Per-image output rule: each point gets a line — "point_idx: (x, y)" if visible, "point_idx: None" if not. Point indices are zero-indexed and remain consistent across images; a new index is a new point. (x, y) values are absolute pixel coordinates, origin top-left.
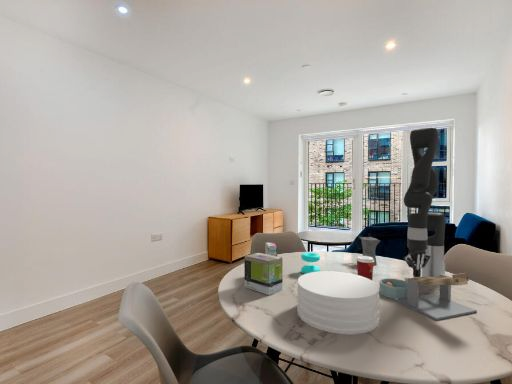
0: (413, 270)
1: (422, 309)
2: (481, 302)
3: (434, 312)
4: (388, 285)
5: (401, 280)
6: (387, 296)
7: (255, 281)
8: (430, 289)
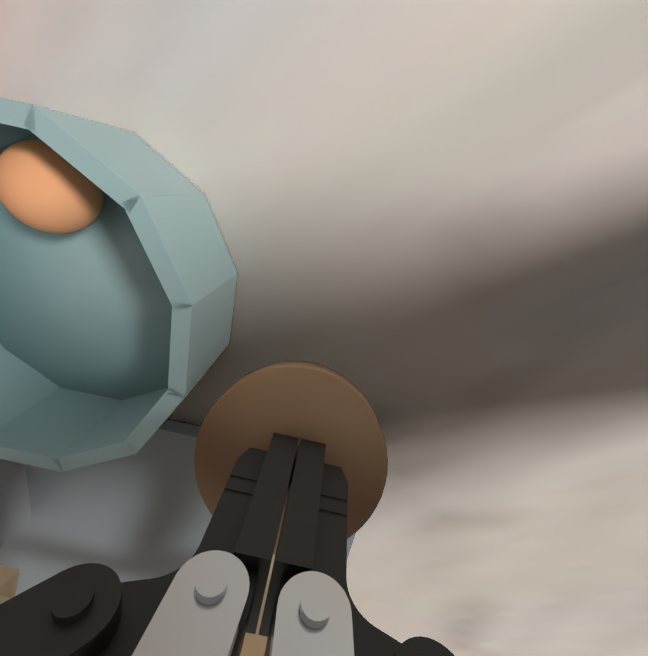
0: (207, 534)
1: (22, 543)
2: (508, 645)
3: None
4: (9, 209)
5: (166, 289)
6: None
7: None
8: (514, 389)
